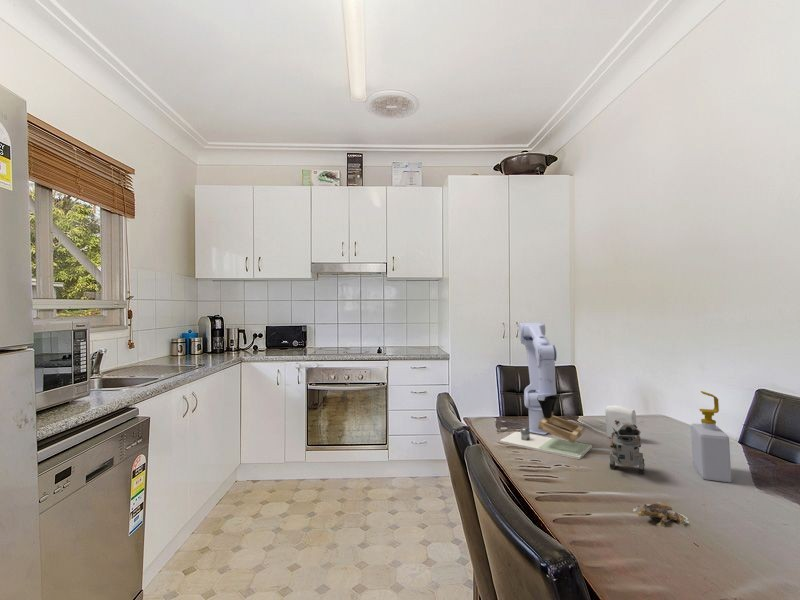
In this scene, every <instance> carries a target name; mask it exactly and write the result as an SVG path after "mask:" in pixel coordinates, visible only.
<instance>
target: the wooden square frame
mask: <svg viewBox="0 0 800 600" xmlns="http://www.w3.org/2000/svg"><path fill="white" fill-rule="evenodd" d="M554 412H555V411H552V412H551V418H544V415H543V416H542V418H544V419H543V420H541V421H540V422H539V426H538V429H540V430H543V431H545V432H548V433H547V434H550V435H553V436H555V437H558V438H559V439H560V438H561V439H562V440H566V441H570V442H573V443H574V442H576V441H577V440H578V439H579V438H580V437H581V436H582V435H583V434H584V430H585V427H584V426H583V425H580V424H578V423H574V422H572V421H570V420H567V419H564V418H561V417H559V416H556V415H554ZM560 427H561V428H560ZM568 430H569V431H568Z"/></svg>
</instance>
